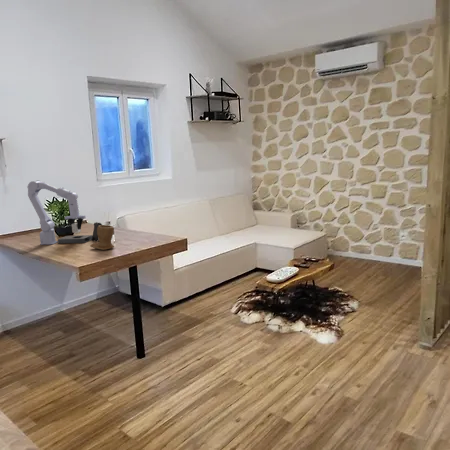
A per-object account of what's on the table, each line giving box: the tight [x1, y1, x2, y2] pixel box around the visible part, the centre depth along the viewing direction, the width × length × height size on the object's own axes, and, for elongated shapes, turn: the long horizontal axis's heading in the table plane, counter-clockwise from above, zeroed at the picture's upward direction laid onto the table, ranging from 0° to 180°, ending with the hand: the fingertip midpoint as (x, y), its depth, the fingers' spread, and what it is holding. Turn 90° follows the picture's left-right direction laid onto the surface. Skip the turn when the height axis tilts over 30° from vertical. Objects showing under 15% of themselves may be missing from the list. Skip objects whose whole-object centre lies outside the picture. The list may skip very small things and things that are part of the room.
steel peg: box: [70, 222, 82, 234], centre depth 283 cm, size 4×4×6 cm
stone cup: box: [89, 224, 115, 251], centre depth 256 cm, size 15×12×15 cm
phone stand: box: [91, 221, 103, 242], centre depth 285 cm, size 9×6×12 cm, turn 134°
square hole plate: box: [57, 234, 93, 245], centre depth 285 cm, size 20×11×3 cm, turn 80°
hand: (76, 229), depth 284 cm, fingers closed on steel peg, 4 cm apart
